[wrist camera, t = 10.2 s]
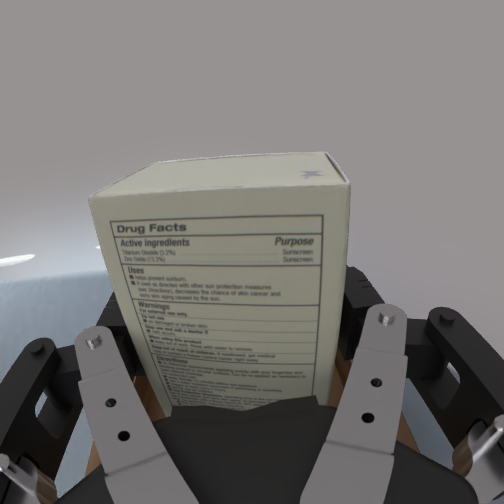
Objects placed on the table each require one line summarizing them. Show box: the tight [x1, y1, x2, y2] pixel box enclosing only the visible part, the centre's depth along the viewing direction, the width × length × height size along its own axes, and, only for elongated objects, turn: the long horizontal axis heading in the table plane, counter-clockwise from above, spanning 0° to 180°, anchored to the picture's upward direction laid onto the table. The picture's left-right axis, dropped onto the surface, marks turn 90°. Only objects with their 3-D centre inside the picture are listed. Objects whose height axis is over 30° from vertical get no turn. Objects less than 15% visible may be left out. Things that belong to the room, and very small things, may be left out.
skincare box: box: [88, 152, 351, 417], centre depth 11 cm, size 6×4×12 cm
